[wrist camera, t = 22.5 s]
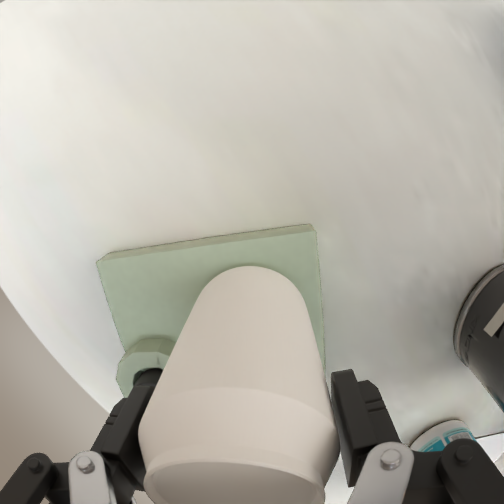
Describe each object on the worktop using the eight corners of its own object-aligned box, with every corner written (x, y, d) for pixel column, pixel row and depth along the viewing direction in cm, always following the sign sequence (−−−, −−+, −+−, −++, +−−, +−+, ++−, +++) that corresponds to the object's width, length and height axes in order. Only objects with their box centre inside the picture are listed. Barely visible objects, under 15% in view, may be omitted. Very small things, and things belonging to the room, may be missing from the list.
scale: (311, 223, 18) (321, 237, 15) (322, 379, 21) (329, 411, 18) (102, 253, 19) (75, 271, 16) (148, 391, 22) (135, 420, 19)
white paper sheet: (523, 427, 24) (528, 433, 22) (477, 480, 27) (480, 486, 26) (473, 439, 24) (478, 447, 22) (422, 494, 27) (425, 502, 26)
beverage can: (320, 275, 17) (395, 454, 5) (287, 365, 19) (300, 543, 7) (209, 247, 17) (113, 407, 5) (189, 342, 18) (125, 513, 7)
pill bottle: (407, 469, 25) (437, 561, 12) (399, 440, 23) (438, 551, 10) (464, 439, 24) (507, 523, 11) (464, 405, 22) (523, 502, 9)
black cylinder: (177, 367, 18) (171, 383, 16) (191, 404, 18) (186, 420, 17) (131, 367, 18) (123, 382, 16) (147, 404, 19) (141, 419, 17)
